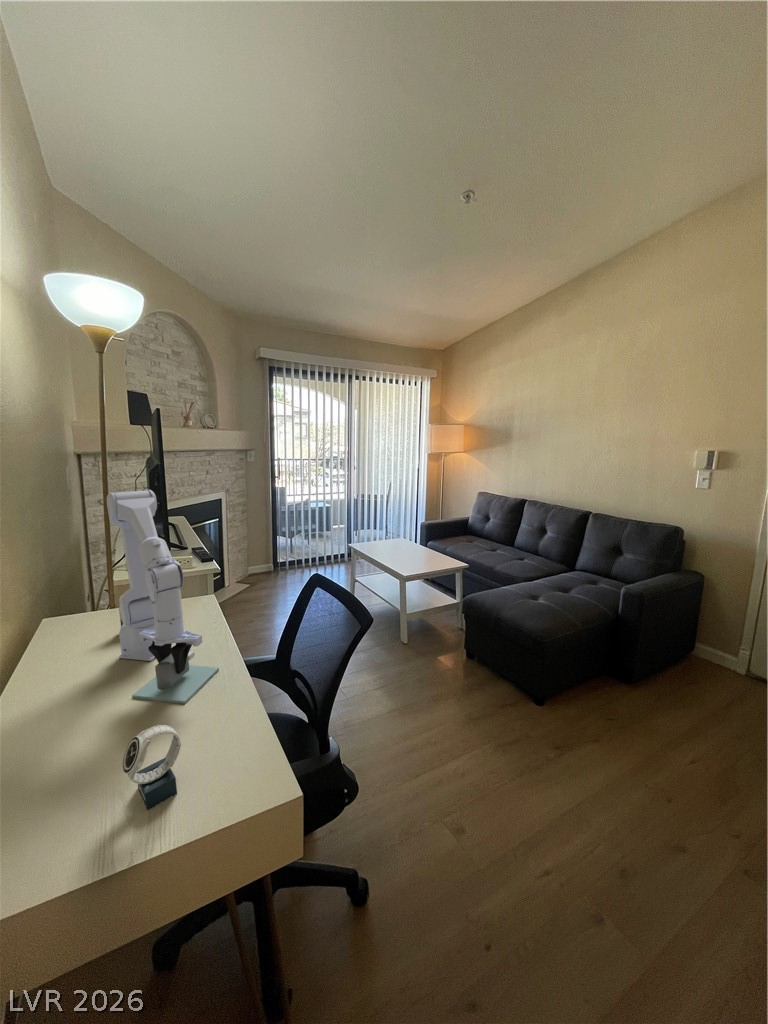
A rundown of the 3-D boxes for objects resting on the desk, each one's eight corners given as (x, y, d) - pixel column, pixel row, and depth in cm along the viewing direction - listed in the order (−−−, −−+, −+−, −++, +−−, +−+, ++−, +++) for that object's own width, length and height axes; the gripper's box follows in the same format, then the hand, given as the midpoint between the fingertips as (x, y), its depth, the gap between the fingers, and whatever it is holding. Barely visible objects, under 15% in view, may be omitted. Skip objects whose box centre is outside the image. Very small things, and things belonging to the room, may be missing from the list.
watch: (124, 795, 63) (116, 736, 61) (177, 767, 69) (172, 711, 67) (132, 819, 59) (124, 756, 57) (188, 787, 65) (183, 728, 63)
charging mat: (132, 697, 87) (132, 695, 87) (172, 665, 100) (171, 663, 100) (185, 703, 86) (185, 701, 85) (218, 670, 98) (218, 667, 98)
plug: (154, 689, 87) (151, 668, 86) (186, 662, 98) (184, 643, 97) (166, 690, 87) (164, 669, 86) (197, 663, 97) (195, 644, 96)
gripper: (126, 621, 86) (132, 677, 88) (186, 626, 84) (191, 684, 86) (149, 608, 93) (155, 660, 95) (205, 612, 91) (210, 666, 93)
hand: (173, 670), depth 91 cm, fingers closed on plug, 3 cm apart
